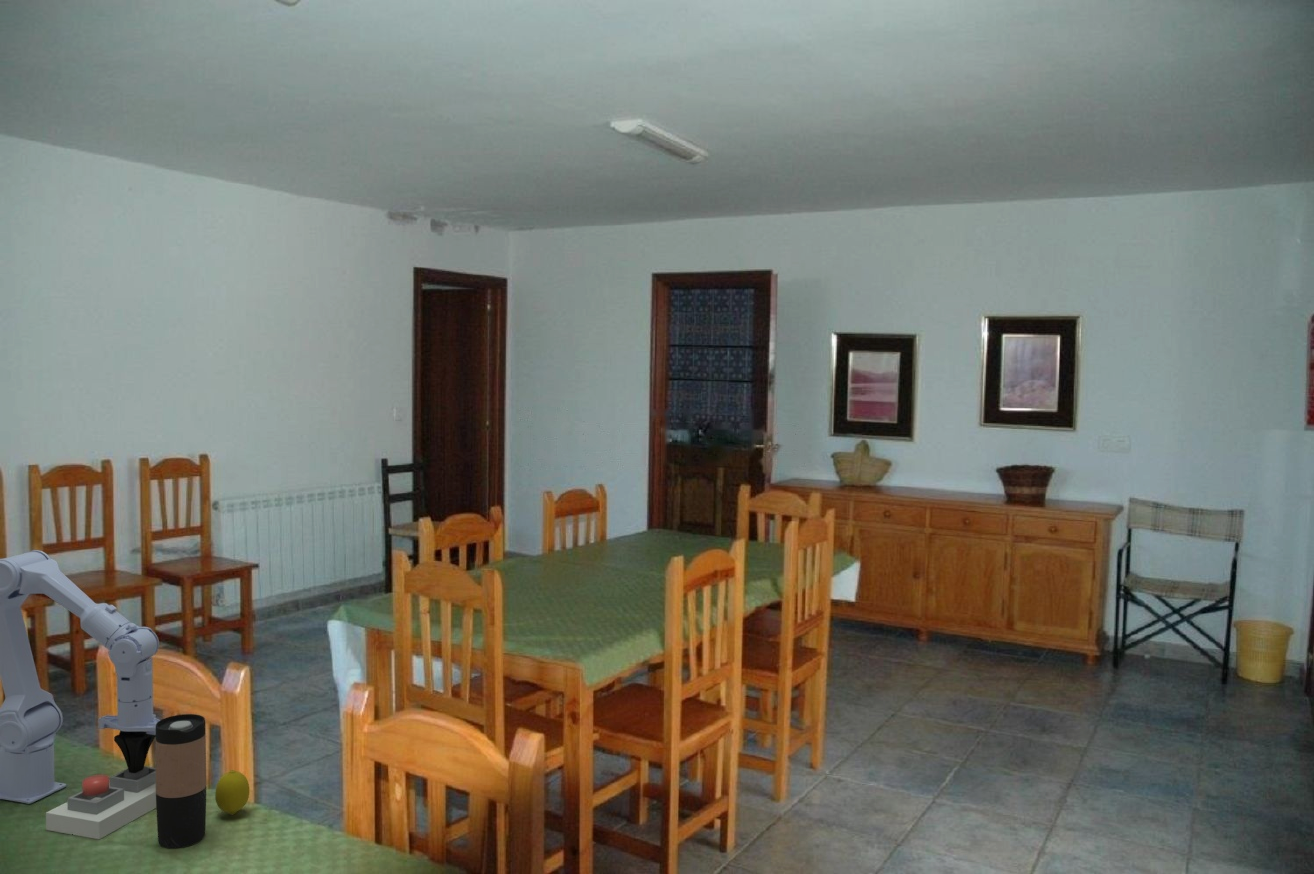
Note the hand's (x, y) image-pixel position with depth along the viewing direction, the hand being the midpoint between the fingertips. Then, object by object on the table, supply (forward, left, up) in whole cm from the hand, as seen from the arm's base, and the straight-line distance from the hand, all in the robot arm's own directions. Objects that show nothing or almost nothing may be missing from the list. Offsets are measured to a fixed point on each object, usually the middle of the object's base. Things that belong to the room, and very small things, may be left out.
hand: (136, 770), depth 179 cm
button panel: (0, -5, -5) cm, 7 cm away
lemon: (+20, 0, -6) cm, 21 cm away
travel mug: (+18, -10, -6) cm, 21 cm away
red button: (0, -9, 0) cm, 9 cm away
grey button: (0, 0, -2) cm, 2 cm away
